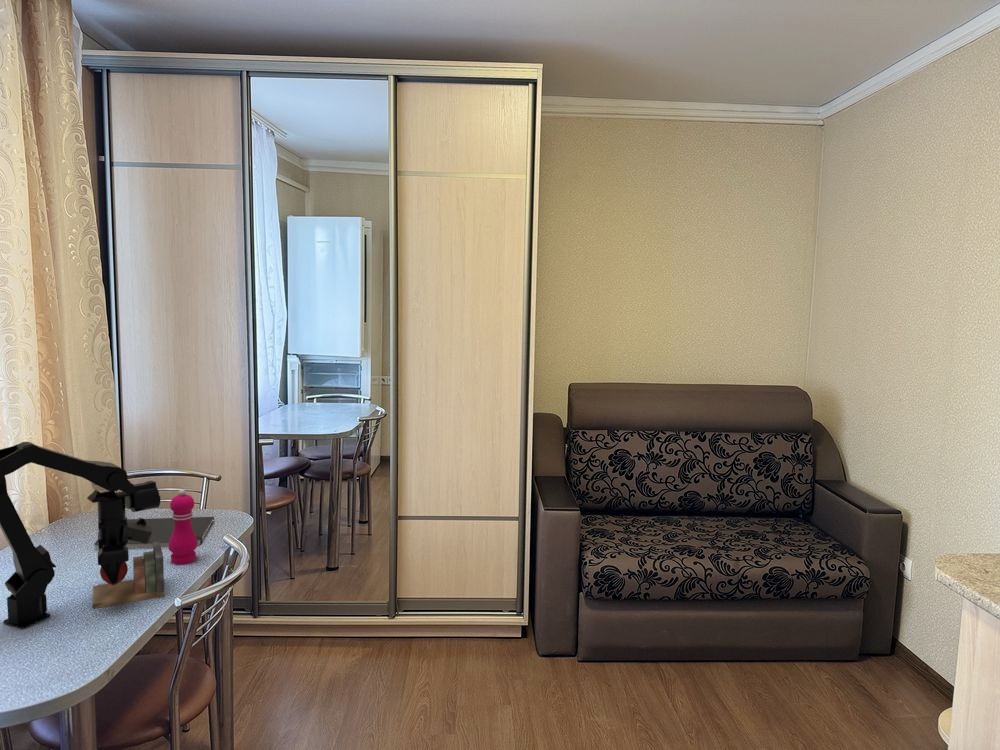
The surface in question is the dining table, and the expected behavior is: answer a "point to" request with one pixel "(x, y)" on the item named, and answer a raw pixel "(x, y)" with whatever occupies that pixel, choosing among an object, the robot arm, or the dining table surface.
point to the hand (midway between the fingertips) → (113, 578)
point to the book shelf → (118, 594)
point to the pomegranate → (121, 575)
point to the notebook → (168, 531)
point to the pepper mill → (182, 530)
